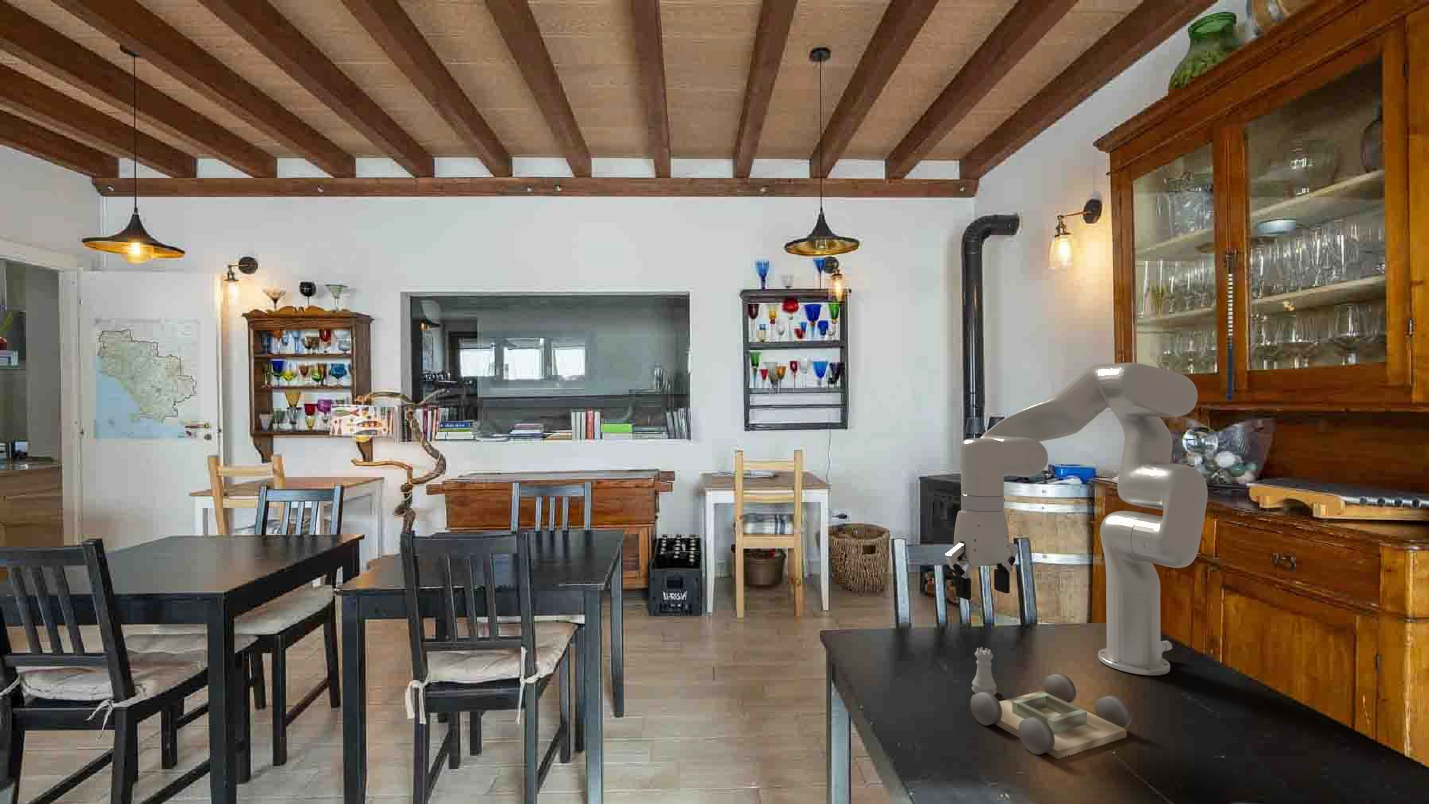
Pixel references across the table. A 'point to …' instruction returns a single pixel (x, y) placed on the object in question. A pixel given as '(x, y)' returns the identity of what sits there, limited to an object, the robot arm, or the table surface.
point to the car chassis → (1054, 718)
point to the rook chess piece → (983, 673)
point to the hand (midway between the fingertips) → (982, 594)
